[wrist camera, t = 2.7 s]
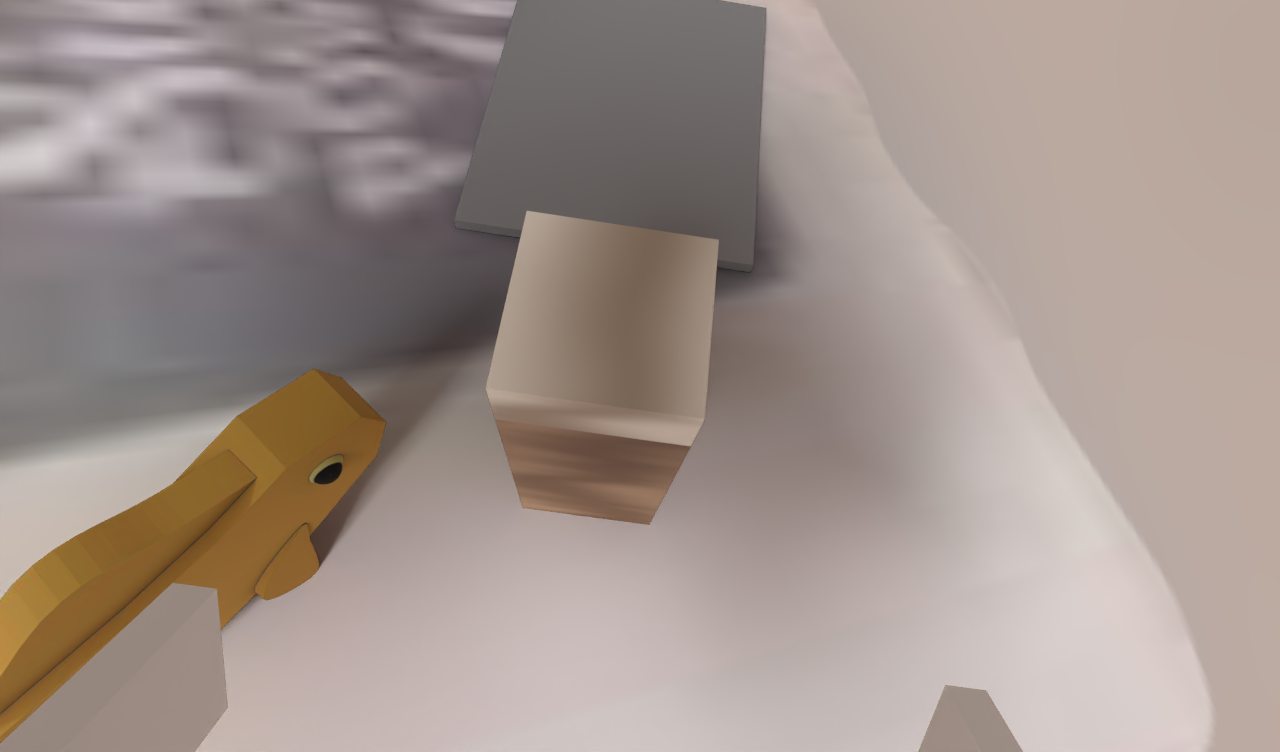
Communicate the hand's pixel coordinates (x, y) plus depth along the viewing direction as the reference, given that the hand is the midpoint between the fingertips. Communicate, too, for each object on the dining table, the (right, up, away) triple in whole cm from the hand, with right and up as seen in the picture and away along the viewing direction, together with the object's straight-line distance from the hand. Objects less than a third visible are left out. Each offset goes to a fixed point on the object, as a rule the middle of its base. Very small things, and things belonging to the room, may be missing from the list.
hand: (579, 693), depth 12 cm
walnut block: (-1, +3, +15) cm, 15 cm away
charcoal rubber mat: (0, +20, +23) cm, 30 cm away
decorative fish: (-16, -5, +10) cm, 19 cm away
